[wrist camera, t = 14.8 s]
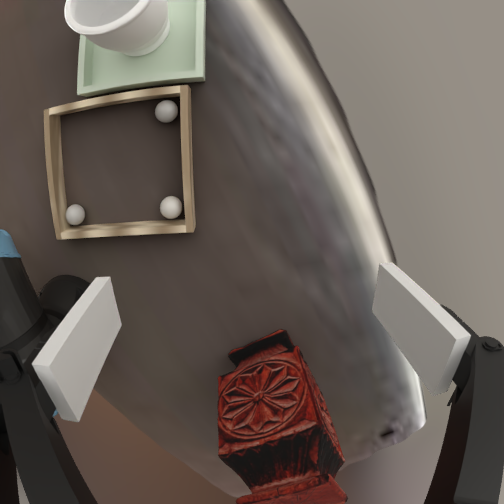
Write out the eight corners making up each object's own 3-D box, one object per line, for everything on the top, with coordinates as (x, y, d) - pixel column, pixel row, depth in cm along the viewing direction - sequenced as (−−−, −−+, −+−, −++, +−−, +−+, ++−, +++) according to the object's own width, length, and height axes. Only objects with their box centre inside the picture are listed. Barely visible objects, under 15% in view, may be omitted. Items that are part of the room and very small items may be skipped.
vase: (250, 393, 58) (265, 527, 30) (217, 348, 54) (216, 502, 26) (314, 367, 57) (359, 500, 29) (289, 318, 52) (337, 470, 24)
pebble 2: (163, 216, 45) (158, 221, 42) (161, 195, 43) (156, 199, 40) (184, 215, 45) (181, 220, 42) (183, 193, 44) (179, 197, 41)
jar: (154, -9, 31) (128, -57, 17) (191, 33, 35) (175, -11, 21) (97, 33, 33) (50, 1, 19) (130, 77, 36) (87, 53, 22)
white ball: (72, 222, 44) (63, 228, 41) (70, 203, 42) (60, 207, 39) (89, 221, 44) (81, 227, 41) (86, 201, 43) (78, 206, 40)
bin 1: (87, 97, 37) (77, 94, 34) (94, -2, 30) (86, -10, 27) (205, 81, 38) (203, 76, 35) (206, -21, 32) (205, -32, 28)
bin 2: (66, 232, 44) (56, 239, 41) (55, 110, 37) (43, 110, 34) (195, 225, 45) (193, 232, 42) (190, 88, 38) (187, 84, 35)
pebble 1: (158, 124, 40) (152, 123, 37) (157, 102, 39) (152, 100, 36) (180, 122, 40) (176, 120, 37) (179, 100, 39) (176, 97, 36)
